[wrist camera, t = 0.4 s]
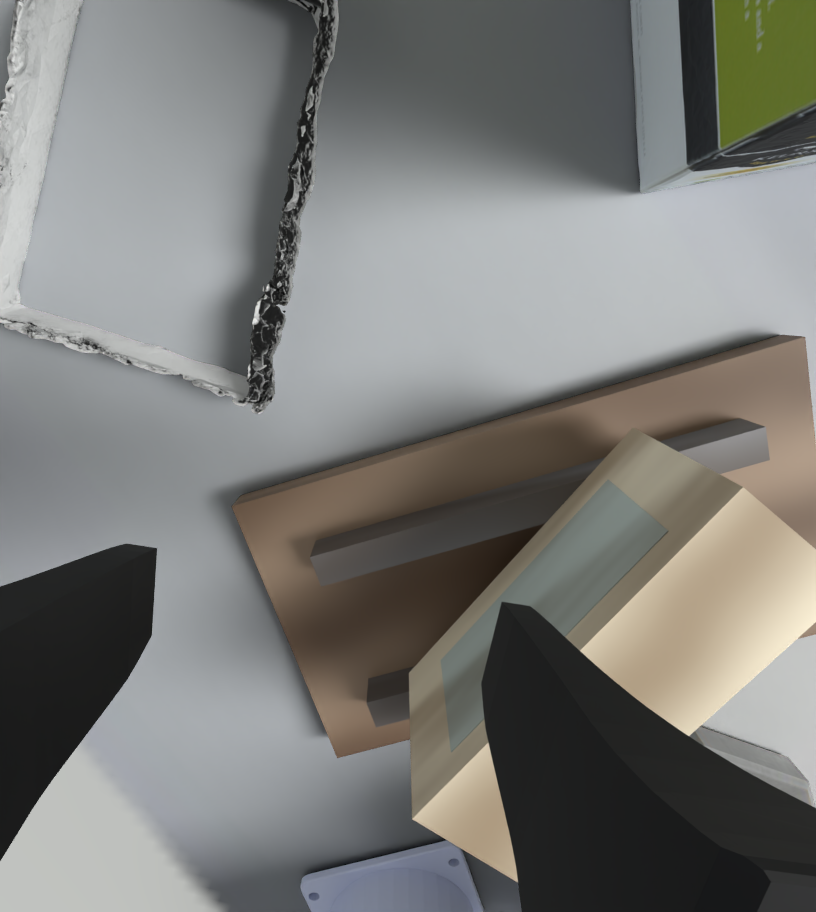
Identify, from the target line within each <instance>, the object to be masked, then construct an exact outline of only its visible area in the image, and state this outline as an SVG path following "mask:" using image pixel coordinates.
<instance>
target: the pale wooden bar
mask: <svg viewBox="0 0 816 912" xmlns="http://www.w3.org/2000/svg"><path fill="white" fill-rule="evenodd" d="M501 602H508V603H514V604H521V605H527V606H531V607H532V608H533V609H535V610H536V611H537V612H538V613H539V614H541V615H542V616H543V617H544V618H545V619H546V620H547V621H548V622H549V623H551V624H552V625H553V626H554V627H555V628H556V629H557V630H558V631H559V632H560V633H561V634H562V635H563V636H564V637H566V638H567V639H568V640H569V641H570V642H571V643H572V644H573V645H574V646H575V647H576V648H577V649H578V650H580V651H581V652H582V653H583V654H584V655H585V656H586V657H587V658H588V659H590V660H591V661H592V662H593V663H594V664H595V665H596V666H597V667H599V668H600V669H601V670H602V671H603V672H604V673H605V674H607V675H608V676H609V677H610V678H611V679H613V680H614V681H615V682H616V683H618V684H619V685H620V686H621V687H622V688H624V689H625V690H626V691H627V692H629V693H630V694H631V695H632V696H633V697H635V698H636V699H637V700H639V701H640V702H641V703H643V704H644V705H645V706H646V707H648V708H649V709H650V710H652V711H653V712H655V713H656V714H658V715H659V716H660V717H662V718H663V719H665V720H666V721H667V722H669V723H670V724H672V725H673V726H675V727H676V728H677V729H679V730H680V731H682V732H683V733H685V734H686V735H688V736H690V735H691V734H692V733H693V732H694V731H695V730H697V729H698V728H699V727H700V726H701V725H702V724H703V723H704V722H705V721H707V720H708V719H709V718H710V717H711V716H712V715H713V714H714V713H715V712H717V711H718V710H719V709H720V708H721V707H722V706H723V705H724V704H725V703H727V702H728V701H729V700H730V699H731V698H732V697H733V696H734V695H735V694H737V693H738V692H739V691H740V690H741V689H742V688H743V687H744V686H745V685H746V684H748V683H749V682H750V681H751V680H752V679H753V678H754V677H755V676H756V675H758V674H759V673H760V672H761V671H762V670H763V669H764V668H765V667H766V666H768V665H769V664H770V663H771V662H772V661H773V660H774V659H775V658H776V657H778V656H779V655H780V654H781V653H782V652H783V651H784V650H785V649H786V648H788V647H789V646H790V645H791V644H792V643H793V642H794V641H795V640H796V639H798V638H799V637H800V636H801V635H802V634H803V633H804V632H805V631H806V630H808V629H809V628H810V627H811V626H812V625H813V624H814V623H815V622H816V549H815V548H814V547H812V546H811V545H810V544H809V543H808V542H807V541H805V540H804V539H803V538H802V537H801V536H800V535H798V534H797V533H796V532H795V531H794V530H793V529H791V528H790V527H789V526H788V525H787V524H786V523H784V522H783V521H782V520H781V519H780V518H779V517H777V516H776V515H775V514H774V513H773V512H772V511H770V510H769V509H768V508H767V507H766V506H765V505H763V504H762V503H761V502H760V501H759V500H758V499H756V498H755V497H754V496H753V495H752V494H751V493H749V492H748V491H747V490H746V489H745V488H744V487H742V486H740V485H738V484H737V483H735V482H733V481H731V480H729V479H727V478H726V477H724V476H722V475H720V474H718V473H716V472H714V471H713V470H711V469H709V468H707V467H705V466H703V465H702V464H700V463H698V462H696V461H694V460H692V459H690V458H689V457H687V456H685V455H683V454H681V453H679V452H678V451H676V450H674V449H672V448H670V447H668V446H666V445H665V444H663V443H661V442H659V441H657V440H655V439H654V438H652V437H650V436H648V435H646V434H644V433H642V432H641V431H639V430H637V429H635V428H632V429H631V430H630V431H629V432H628V434H627V435H626V436H625V437H624V438H623V439H622V440H621V441H620V442H619V443H618V444H617V446H616V447H615V448H614V449H613V450H612V451H611V452H610V453H609V454H608V455H607V457H606V458H605V459H604V460H603V461H602V462H601V463H600V464H599V465H598V466H597V467H596V469H595V470H594V471H593V472H592V473H591V474H590V475H589V476H588V477H587V478H586V480H585V481H584V482H583V483H582V484H581V485H580V486H579V487H578V488H577V489H576V490H575V492H574V493H573V494H572V495H571V496H570V497H569V498H568V499H567V500H566V501H565V503H564V504H563V505H562V506H561V507H560V508H559V509H558V510H557V511H556V512H555V513H554V515H553V516H552V517H551V518H550V519H549V520H548V521H547V522H546V523H545V524H544V526H543V527H542V528H541V529H540V530H539V531H538V532H537V533H536V534H535V535H534V536H533V538H532V539H531V540H530V541H529V542H528V543H527V544H526V545H525V546H524V547H523V549H522V550H521V551H520V552H519V553H518V554H517V555H516V556H515V557H514V558H513V559H512V561H511V562H510V563H509V564H508V565H507V566H506V567H505V568H504V569H503V570H502V572H501V573H500V574H499V575H498V576H497V577H496V578H495V579H494V580H493V581H492V582H491V584H490V585H489V586H488V587H487V588H486V589H485V590H484V591H483V592H482V593H481V595H480V596H479V597H478V598H477V599H476V600H475V601H474V602H473V603H472V604H471V605H470V607H469V608H468V609H467V610H466V611H465V612H464V613H463V614H462V615H461V616H460V618H459V619H458V620H457V621H456V622H455V623H454V624H453V625H452V626H451V627H450V628H449V630H448V631H447V632H446V633H445V634H444V635H443V636H442V637H441V638H440V639H439V641H438V642H437V643H436V644H435V645H434V646H433V647H432V648H431V649H430V650H429V651H428V653H427V654H426V655H425V656H424V657H423V658H422V659H421V660H420V661H419V662H418V664H417V665H416V666H415V667H414V668H413V669H412V670H411V671H410V672H409V704H410V749H411V794H412V819H413V820H414V821H416V822H418V823H419V824H421V825H423V826H424V827H426V828H428V829H429V830H431V831H433V832H434V833H436V834H438V835H439V836H441V837H443V838H444V839H446V840H448V841H449V842H451V843H453V844H454V845H456V846H458V847H459V848H461V849H463V850H464V851H466V852H468V853H469V854H471V855H473V856H474V857H476V858H478V859H479V860H481V861H483V862H484V863H486V864H488V865H489V866H491V867H493V868H494V869H496V870H498V871H499V872H501V873H503V874H504V875H506V876H508V877H509V878H511V879H513V880H514V881H516V882H518V878H517V871H516V864H515V859H514V853H513V848H512V843H511V838H510V834H509V829H508V825H507V821H506V816H505V812H504V808H503V804H502V799H501V795H500V791H499V787H498V782H497V778H496V774H495V769H494V765H493V761H492V756H491V752H490V747H489V743H488V738H487V734H486V729H485V720H484V711H483V700H482V688H481V682H482V678H483V674H484V670H485V666H486V662H487V658H488V654H489V650H490V646H491V642H492V638H493V634H494V630H495V626H496V622H497V618H498V614H499V610H500V606H501Z"/></svg>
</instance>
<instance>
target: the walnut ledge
mask: <svg viewBox="0 0 816 912" xmlns="http://www.w3.org/2000/svg"><path fill="white" fill-rule="evenodd" d="M632 428H635V429H637V430H639V431H641V432H642V433H644V434H646V435H648V436H650V437H652V438H654V439H655V440H657V441H659V442H661V443H663V444H665V445H666V446H668V447H670V448H672V449H674V450H676V451H678V452H679V453H681V454H683V455H685V456H687V457H689V458H690V459H692V460H694V461H696V462H698V463H700V464H702V465H703V466H705V467H707V468H709V469H711V470H713V471H714V472H716V473H718V474H720V475H722V476H724V477H726V478H727V479H729V480H731V481H733V482H735V483H737V484H738V485H740V486H742V487H744V488H745V489H746V490H747V491H748V492H749V493H751V494H752V495H753V496H754V497H755V498H756V499H758V500H759V501H760V502H761V503H762V504H763V505H765V506H766V507H767V508H768V509H769V510H770V511H772V512H773V513H774V514H775V515H776V516H777V517H779V518H780V519H781V520H782V521H783V522H784V523H786V524H787V525H788V526H789V527H790V528H791V529H793V530H794V531H795V532H796V533H797V534H798V535H800V536H801V537H802V538H803V539H804V540H805V541H807V542H808V543H809V544H810V545H811V546H812V547H814V548H815V549H816V442H815V432H814V422H813V412H812V402H811V392H810V382H809V372H808V361H807V351H806V341H805V337H801V336H789V335H779V336H776V337H772V338H769V339H766V340H762V341H759V342H756V343H752V344H749V345H745V346H742V347H739V348H735V349H732V350H729V351H725V352H722V353H719V354H715V355H712V356H708V357H705V358H702V359H698V360H695V361H692V362H688V363H685V364H681V365H678V366H675V367H671V368H668V369H665V370H661V371H658V372H655V373H651V374H648V375H644V376H641V377H638V378H634V379H631V380H628V381H624V382H621V383H618V384H614V385H611V386H607V387H604V388H601V389H597V390H594V391H591V392H587V393H584V394H580V395H577V396H574V397H570V398H567V399H564V400H560V401H557V402H554V403H550V404H547V405H543V406H540V407H537V408H533V409H530V410H527V411H523V412H520V413H516V414H513V415H510V416H506V417H503V418H500V419H496V420H493V421H490V422H486V423H483V424H479V425H476V426H473V427H469V428H466V429H463V430H459V431H456V432H452V433H449V434H446V435H442V436H439V437H436V438H432V439H429V440H426V441H422V442H419V443H415V444H412V445H409V446H405V447H402V448H399V449H395V450H392V451H389V452H385V453H382V454H378V455H375V456H372V457H368V458H365V459H362V460H358V461H355V462H351V463H348V464H345V465H341V466H338V467H335V468H331V469H328V470H325V471H321V472H318V473H314V474H311V475H308V476H304V477H301V478H298V479H294V480H291V481H287V482H284V483H281V484H277V485H274V486H271V487H267V488H264V489H261V490H257V491H254V492H250V493H247V494H244V495H241V496H240V497H239V498H238V499H237V501H236V502H235V503H234V504H233V505H232V509H233V511H234V514H235V516H236V518H237V521H238V523H239V525H240V528H241V530H242V533H243V535H244V537H245V540H246V542H247V544H248V547H249V549H250V552H251V554H252V556H253V559H254V561H255V563H256V566H257V568H258V571H259V573H260V575H261V578H262V580H263V582H264V585H265V587H266V590H267V592H268V594H269V597H270V599H271V601H272V604H273V606H274V609H275V611H276V613H277V616H278V618H279V620H280V623H281V625H282V628H283V630H284V632H285V635H286V637H287V639H288V642H289V644H290V647H291V649H292V651H293V654H294V656H295V658H296V661H297V663H298V666H299V668H300V670H301V673H302V675H303V677H304V680H305V682H306V685H307V687H308V689H309V692H310V694H311V696H312V699H313V701H314V704H315V706H316V708H317V711H318V713H319V716H320V718H321V720H322V723H323V725H324V727H325V730H326V732H327V735H328V737H329V739H330V742H331V744H332V746H333V749H334V751H335V754H336V756H337V758H339V757H343V756H347V755H351V754H355V753H359V752H363V751H366V750H370V749H374V748H378V747H382V746H386V745H390V744H393V743H397V742H401V741H405V740H409V739H410V704H409V672H410V671H411V670H412V669H413V668H414V667H415V666H416V665H417V664H418V662H419V661H420V660H421V659H422V658H423V657H424V656H425V655H426V654H427V653H428V651H429V650H430V649H431V648H432V647H433V646H434V645H435V644H436V643H437V642H438V641H439V639H440V638H441V637H442V636H443V635H444V634H445V633H446V632H447V631H448V630H449V628H450V627H451V626H452V625H453V624H454V623H455V622H456V621H457V620H458V619H459V618H460V616H461V615H462V614H463V613H464V612H465V611H466V610H467V609H468V608H469V607H470V605H471V604H472V603H473V602H474V601H475V600H476V599H477V598H478V597H479V596H480V595H481V593H482V592H483V591H484V590H485V589H486V588H487V587H488V586H489V585H490V584H491V582H492V581H493V580H494V579H495V578H496V577H497V576H498V575H499V574H500V573H501V572H502V570H503V569H504V568H505V567H506V566H507V565H508V564H509V563H510V562H511V561H512V559H513V558H514V557H515V556H516V555H517V554H518V553H519V552H520V551H521V550H522V549H523V547H524V546H525V545H526V544H527V543H528V542H529V541H530V540H531V539H532V538H533V536H534V535H535V534H536V533H537V532H538V531H539V530H540V529H541V528H542V527H543V526H544V524H545V523H546V522H547V521H548V520H549V519H550V518H551V517H552V516H553V515H554V513H555V512H556V511H557V510H558V509H559V508H560V507H561V506H562V505H563V504H564V503H565V501H566V500H567V499H568V498H569V497H570V496H571V495H572V494H573V493H574V492H575V490H576V489H577V488H578V487H579V486H580V485H581V484H582V483H583V482H584V481H585V480H586V478H587V477H588V476H589V475H590V474H591V473H592V472H593V471H594V470H595V469H596V467H597V466H598V465H599V464H600V463H601V462H602V461H603V460H604V459H605V458H606V457H607V455H608V454H609V453H610V452H611V451H612V450H613V449H614V448H615V447H616V446H617V444H618V443H619V442H620V441H621V440H622V439H623V438H624V437H625V436H626V435H627V434H628V432H629V431H630V430H631V429H632ZM815 634H816V622H815V623H814V624H813V625H812V626H811V627H810V628H809V629H808V630H806V631H805V632H804V633H803V634H802V635H801V636H800V637H799V638H803V637H807V636H811V635H815ZM799 638H798V639H799Z"/></svg>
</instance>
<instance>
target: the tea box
mask: <svg viewBox="0 0 816 912" xmlns="http://www.w3.org/2000/svg"><path fill="white" fill-rule="evenodd" d="M630 5H631V26H632V45H633V64H634V87H635V105H636V130H637V146H638V165H639V173H640V191H641V193H643V194H645V193H651V192H656V191H661V190H666V189H672V188H677V187H683V186H688V185H694V184H699V183H705V182H710V181H716V180H721V179H727V178H732V177H738V176H744V175H749V174H755V173H761V172H767V171H773V170H778V169H784V168H789V167H795V166H800V165H806V164H811V163H816V0H630Z"/></svg>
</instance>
